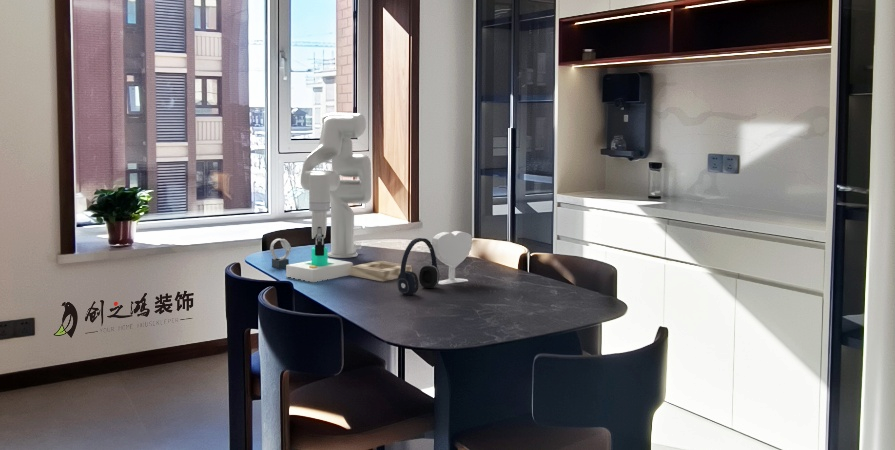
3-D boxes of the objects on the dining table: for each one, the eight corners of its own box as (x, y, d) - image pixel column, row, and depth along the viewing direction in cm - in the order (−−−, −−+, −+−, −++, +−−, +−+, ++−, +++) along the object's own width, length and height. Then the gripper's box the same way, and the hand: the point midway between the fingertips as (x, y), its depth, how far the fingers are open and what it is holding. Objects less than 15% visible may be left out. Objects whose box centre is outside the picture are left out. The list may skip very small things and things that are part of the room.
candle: (325, 277, 317) (325, 245, 316) (309, 276, 318) (309, 244, 317) (329, 274, 323) (329, 242, 322) (314, 273, 324) (314, 241, 323)
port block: (326, 269, 333) (326, 256, 332) (352, 274, 324) (352, 260, 323) (286, 277, 317) (286, 263, 316) (313, 282, 308) (313, 268, 308)
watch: (293, 266, 337) (293, 238, 336) (274, 269, 332) (274, 240, 331) (286, 264, 341) (286, 237, 340) (267, 266, 336) (267, 238, 335)
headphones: (411, 298, 287) (411, 243, 284) (393, 295, 290) (394, 241, 288) (442, 287, 304) (443, 235, 301) (425, 285, 307) (426, 234, 305)
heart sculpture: (464, 277, 321) (465, 229, 319) (472, 280, 317) (473, 231, 315) (430, 282, 312) (430, 232, 309) (438, 284, 308) (439, 234, 306)
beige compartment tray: (379, 269, 334) (380, 260, 334) (411, 275, 325) (411, 265, 324) (350, 275, 322) (350, 266, 321) (382, 281, 312) (383, 271, 312)
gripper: (309, 203, 325) (310, 249, 328) (308, 209, 308) (308, 257, 311) (330, 203, 326) (330, 249, 329) (329, 209, 309) (330, 257, 312)
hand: (319, 253), depth 320 cm, fingers open, 9 cm apart
